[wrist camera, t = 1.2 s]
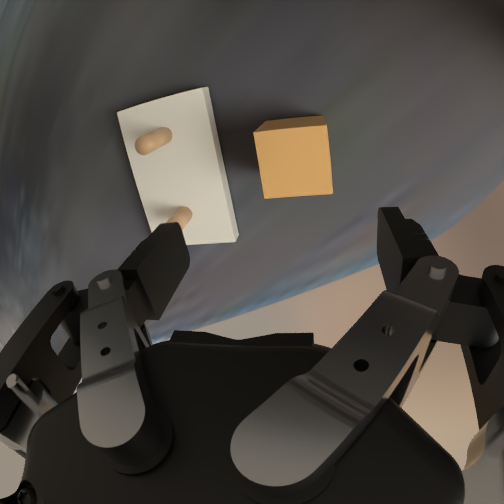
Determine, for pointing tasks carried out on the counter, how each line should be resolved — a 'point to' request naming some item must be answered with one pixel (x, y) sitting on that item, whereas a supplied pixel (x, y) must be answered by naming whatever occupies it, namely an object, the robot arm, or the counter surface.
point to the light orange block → (294, 157)
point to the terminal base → (180, 166)
